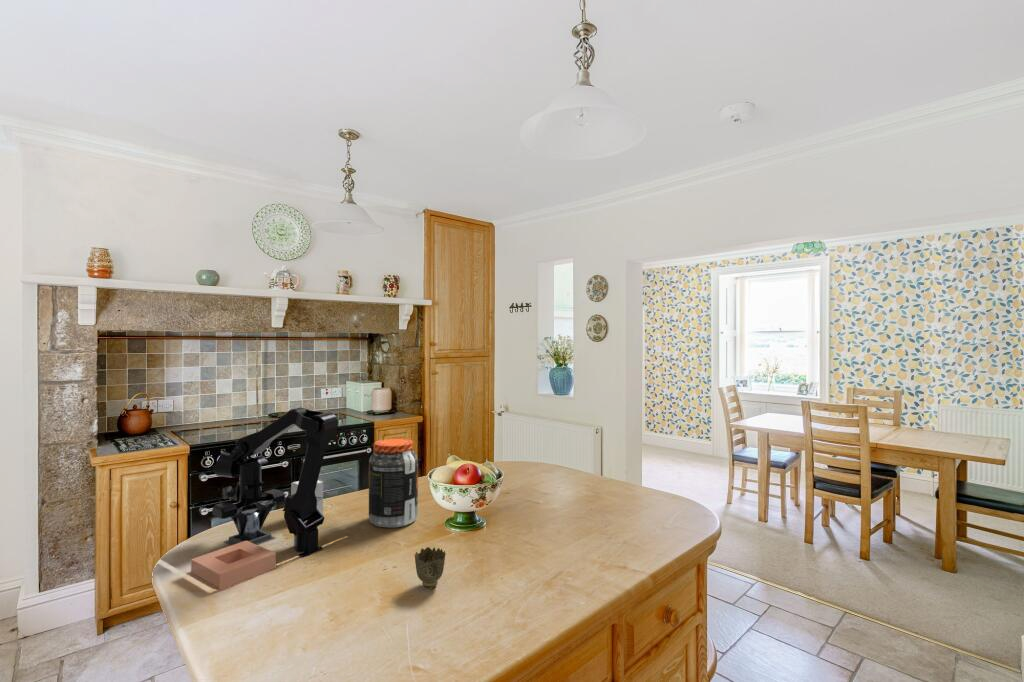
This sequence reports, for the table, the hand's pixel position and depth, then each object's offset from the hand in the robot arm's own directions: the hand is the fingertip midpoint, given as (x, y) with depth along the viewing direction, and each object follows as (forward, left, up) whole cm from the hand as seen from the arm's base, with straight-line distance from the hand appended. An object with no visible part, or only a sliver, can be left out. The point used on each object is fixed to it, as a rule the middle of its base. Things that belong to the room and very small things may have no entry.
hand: (250, 532), depth 146 cm
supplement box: (+2, -20, -3) cm, 20 cm away
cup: (-60, -11, -3) cm, 61 cm away
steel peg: (0, 0, -2) cm, 2 cm away
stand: (0, 0, -3) cm, 3 cm away
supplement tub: (-21, -36, -3) cm, 42 cm away
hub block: (-14, +12, -3) cm, 19 cm away
